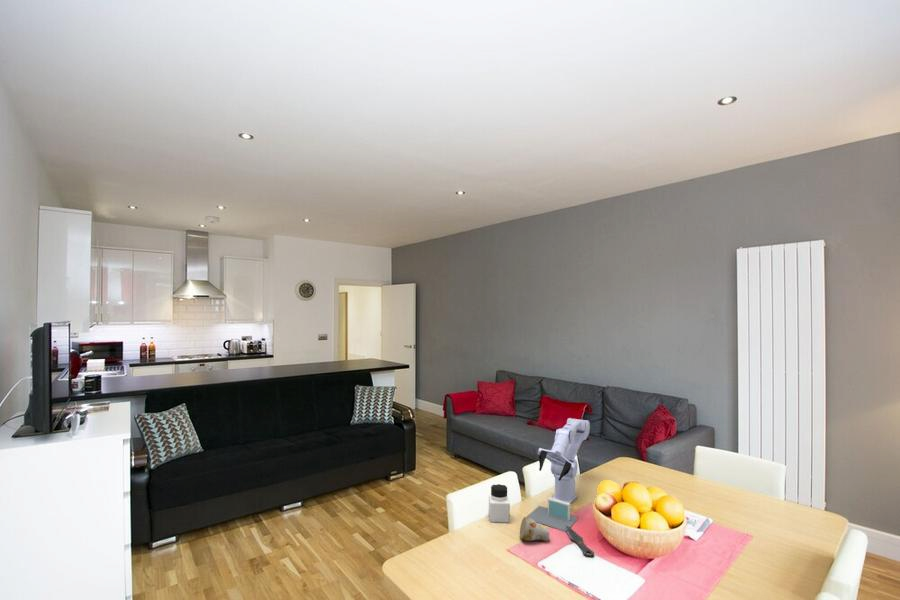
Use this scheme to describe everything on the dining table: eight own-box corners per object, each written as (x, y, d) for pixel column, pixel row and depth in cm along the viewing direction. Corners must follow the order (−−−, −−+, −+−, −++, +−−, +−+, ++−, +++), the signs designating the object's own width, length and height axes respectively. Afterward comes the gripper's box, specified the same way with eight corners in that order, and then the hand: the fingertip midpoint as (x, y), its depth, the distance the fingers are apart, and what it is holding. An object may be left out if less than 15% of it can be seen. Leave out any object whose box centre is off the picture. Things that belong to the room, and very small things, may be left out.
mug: (554, 546, 139) (541, 521, 138) (527, 555, 141) (514, 531, 140) (551, 529, 147) (538, 506, 145) (525, 538, 148) (513, 515, 147)
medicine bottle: (509, 522, 154) (509, 489, 154) (489, 522, 154) (490, 489, 155) (507, 513, 161) (507, 482, 162) (488, 513, 161) (489, 481, 162)
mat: (539, 506, 168) (539, 505, 168) (578, 518, 158) (578, 517, 158) (524, 518, 157) (524, 517, 157) (566, 532, 148) (566, 531, 148)
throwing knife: (584, 557, 132) (584, 555, 132) (558, 525, 152) (559, 523, 152) (597, 556, 133) (597, 554, 133) (570, 524, 152) (570, 523, 152)
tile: (549, 513, 161) (549, 497, 162) (570, 519, 157) (570, 503, 157) (547, 515, 160) (548, 499, 160) (568, 521, 155) (568, 504, 156)
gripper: (544, 435, 171) (534, 457, 160) (579, 451, 166) (571, 476, 155) (540, 447, 174) (530, 470, 163) (574, 463, 169) (566, 488, 158)
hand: (550, 473), depth 159 cm, fingers open, 7 cm apart
